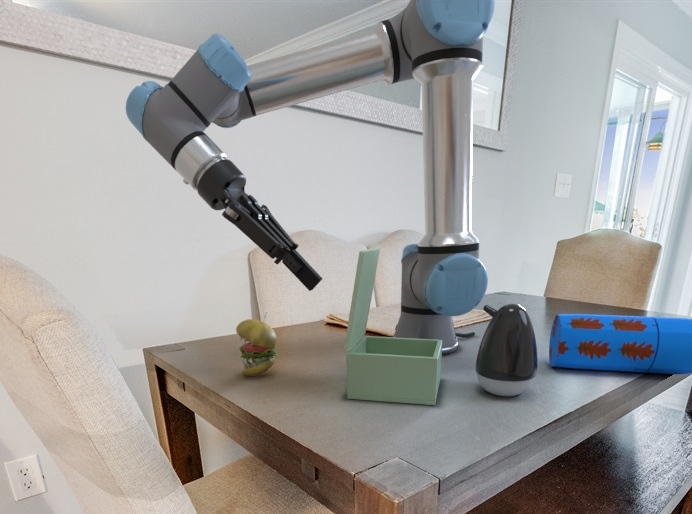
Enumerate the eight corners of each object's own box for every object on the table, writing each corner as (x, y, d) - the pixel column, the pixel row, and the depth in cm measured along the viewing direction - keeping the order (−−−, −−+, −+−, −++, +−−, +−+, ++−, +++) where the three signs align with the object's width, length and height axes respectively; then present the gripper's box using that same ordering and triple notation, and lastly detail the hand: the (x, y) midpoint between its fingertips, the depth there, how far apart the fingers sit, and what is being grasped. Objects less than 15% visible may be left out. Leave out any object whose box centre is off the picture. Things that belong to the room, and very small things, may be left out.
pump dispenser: (492, 378, 87) (500, 296, 82) (544, 391, 80) (557, 304, 75) (460, 390, 81) (467, 303, 75) (514, 406, 74) (525, 311, 68)
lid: (380, 247, 79) (375, 246, 79) (364, 252, 68) (359, 251, 68) (365, 333, 85) (361, 332, 85) (348, 351, 74) (343, 350, 74)
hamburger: (245, 368, 92) (239, 308, 88) (282, 368, 92) (277, 308, 88) (236, 381, 85) (229, 316, 80) (275, 380, 85) (270, 316, 81)
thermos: (555, 373, 90) (696, 382, 86) (563, 319, 86) (711, 325, 82) (546, 358, 100) (672, 365, 96) (553, 309, 96) (685, 314, 92)
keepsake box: (440, 380, 86) (442, 339, 83) (434, 405, 74) (437, 358, 71) (363, 375, 88) (363, 335, 85) (347, 398, 77) (346, 353, 74)
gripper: (220, 196, 82) (314, 294, 85) (176, 191, 70) (287, 306, 73) (245, 162, 79) (341, 265, 82) (204, 151, 67) (318, 272, 70)
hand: (316, 284), depth 77 cm, fingers closed
